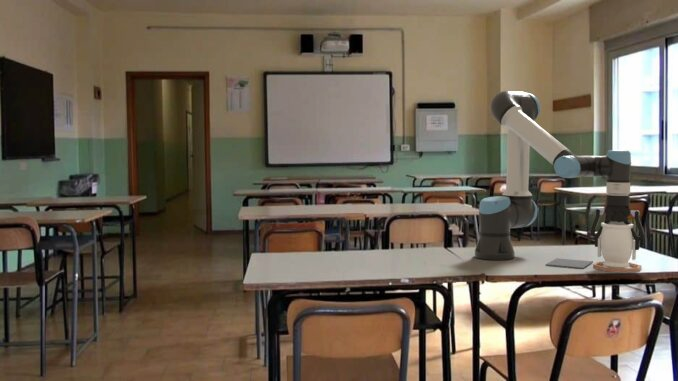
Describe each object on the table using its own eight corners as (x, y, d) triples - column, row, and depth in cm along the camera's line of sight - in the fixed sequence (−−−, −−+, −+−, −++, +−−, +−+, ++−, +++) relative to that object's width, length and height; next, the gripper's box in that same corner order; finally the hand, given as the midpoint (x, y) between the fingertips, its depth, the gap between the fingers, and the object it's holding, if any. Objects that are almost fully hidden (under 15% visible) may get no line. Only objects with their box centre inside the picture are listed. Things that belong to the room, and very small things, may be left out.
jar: (593, 264, 220) (594, 222, 219) (617, 262, 223) (618, 221, 222) (615, 269, 210) (616, 225, 209) (639, 267, 213) (640, 224, 212)
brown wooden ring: (590, 269, 214) (590, 266, 214) (599, 263, 226) (599, 260, 226) (636, 273, 206) (636, 270, 206) (643, 266, 218) (643, 263, 218)
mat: (545, 265, 222) (545, 264, 222) (556, 259, 235) (556, 258, 235) (583, 269, 215) (583, 267, 215) (592, 262, 227) (592, 261, 227)
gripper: (580, 194, 218) (579, 256, 219) (653, 196, 205) (651, 262, 206) (585, 192, 224) (584, 253, 225) (656, 195, 211) (654, 259, 213)
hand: (616, 257), depth 216 cm, fingers closed on jar, 10 cm apart
